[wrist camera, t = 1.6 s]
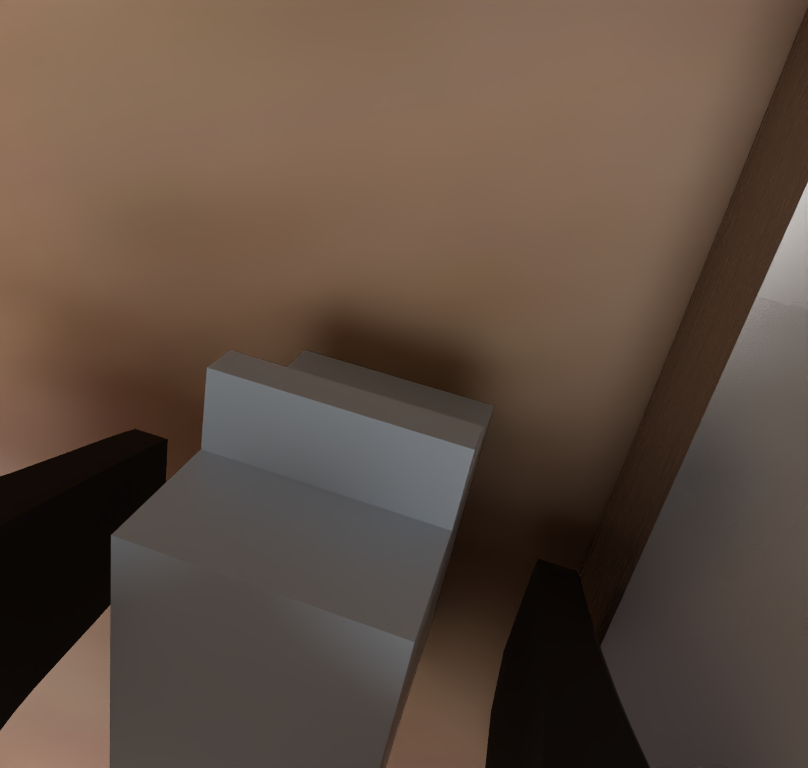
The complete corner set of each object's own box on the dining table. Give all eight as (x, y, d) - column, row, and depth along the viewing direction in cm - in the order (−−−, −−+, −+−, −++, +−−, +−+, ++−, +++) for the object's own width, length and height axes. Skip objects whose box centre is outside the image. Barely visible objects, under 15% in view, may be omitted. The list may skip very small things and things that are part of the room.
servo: (417, 669, 15) (324, 965, 10) (267, 615, 15) (109, 872, 11) (512, 340, 11) (440, 550, 7) (314, 284, 12) (111, 440, 7)
